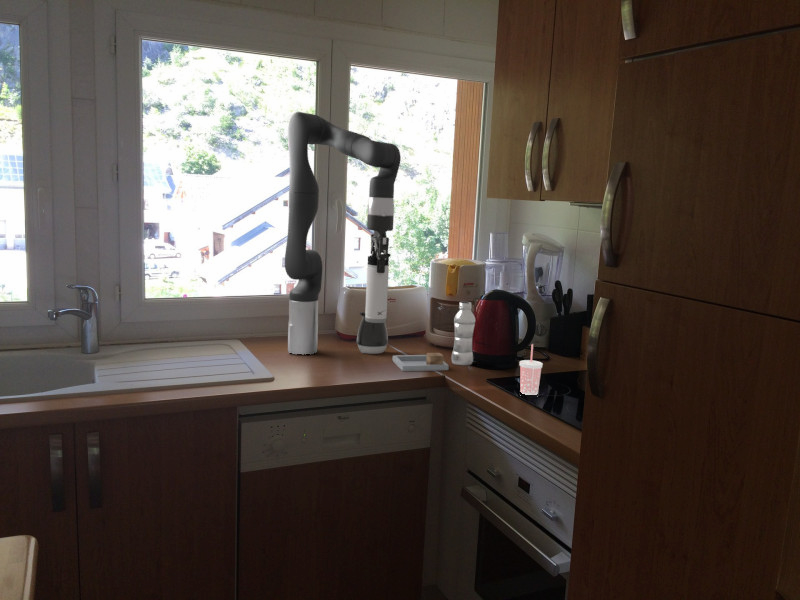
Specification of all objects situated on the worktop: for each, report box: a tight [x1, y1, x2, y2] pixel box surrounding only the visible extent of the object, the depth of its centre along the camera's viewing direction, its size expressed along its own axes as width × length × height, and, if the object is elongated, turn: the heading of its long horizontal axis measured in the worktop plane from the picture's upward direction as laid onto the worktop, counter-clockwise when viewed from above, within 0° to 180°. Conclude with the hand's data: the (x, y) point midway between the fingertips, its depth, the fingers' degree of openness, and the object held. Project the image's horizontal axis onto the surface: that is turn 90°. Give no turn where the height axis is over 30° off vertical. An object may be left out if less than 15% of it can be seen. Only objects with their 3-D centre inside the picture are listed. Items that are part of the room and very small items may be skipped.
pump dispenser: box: [356, 311, 389, 355], centre depth 219 cm, size 10×10×15 cm
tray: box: [392, 354, 449, 372], centre depth 203 cm, size 14×13×2 cm
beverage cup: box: [519, 343, 544, 395], centre depth 178 cm, size 6×6×14 cm
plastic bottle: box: [451, 301, 476, 366], centre depth 207 cm, size 6×7×20 cm
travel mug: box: [364, 253, 391, 323], centre depth 196 cm, size 6×7×20 cm
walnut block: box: [426, 352, 444, 365], centre depth 201 cm, size 4×4×4 cm
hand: (378, 271), depth 195 cm, fingers closed on travel mug, 6 cm apart
